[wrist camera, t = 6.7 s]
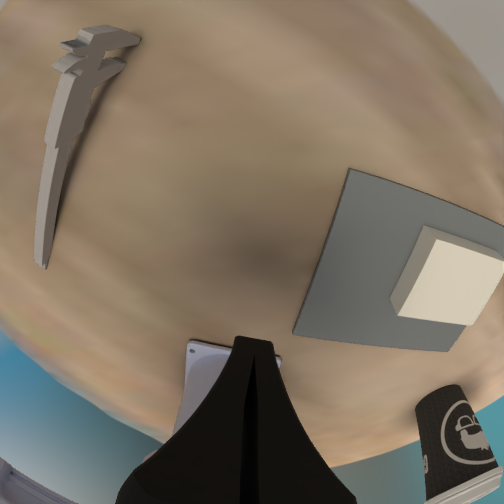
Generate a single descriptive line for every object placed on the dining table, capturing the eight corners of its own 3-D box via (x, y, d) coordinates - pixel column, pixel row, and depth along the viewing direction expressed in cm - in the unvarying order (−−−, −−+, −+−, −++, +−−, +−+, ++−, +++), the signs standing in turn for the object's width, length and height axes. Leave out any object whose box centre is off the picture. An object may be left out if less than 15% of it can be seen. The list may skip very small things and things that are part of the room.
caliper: (132, 32, 13) (73, 14, 8) (145, 38, 13) (88, 21, 8) (40, 261, 22) (0, 302, 17) (49, 268, 22) (9, 310, 17)
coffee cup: (399, 399, 27) (424, 517, 14) (473, 364, 25) (515, 474, 12) (407, 427, 31) (425, 521, 18) (469, 400, 28) (498, 489, 15)
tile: (389, 297, 20) (462, 310, 20) (397, 315, 18) (471, 325, 19) (423, 224, 17) (495, 250, 18) (436, 238, 15) (508, 263, 16)
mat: (446, 349, 23) (447, 352, 23) (292, 331, 23) (292, 334, 22) (514, 231, 17) (517, 233, 17) (349, 167, 16) (350, 169, 16)
